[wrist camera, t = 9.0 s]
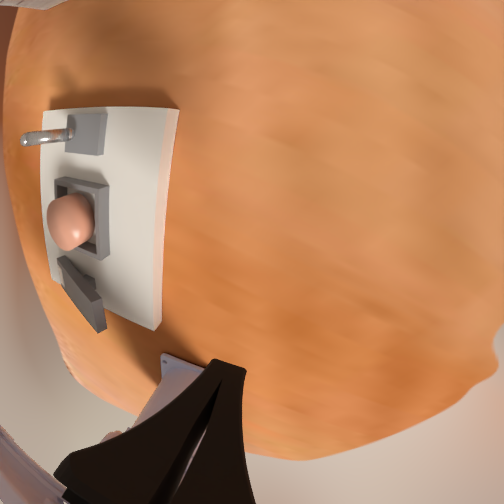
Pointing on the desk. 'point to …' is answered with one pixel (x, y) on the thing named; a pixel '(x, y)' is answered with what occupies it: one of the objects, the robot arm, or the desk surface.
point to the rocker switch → (82, 294)
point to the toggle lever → (47, 136)
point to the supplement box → (32, 3)
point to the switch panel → (114, 200)
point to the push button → (70, 221)
